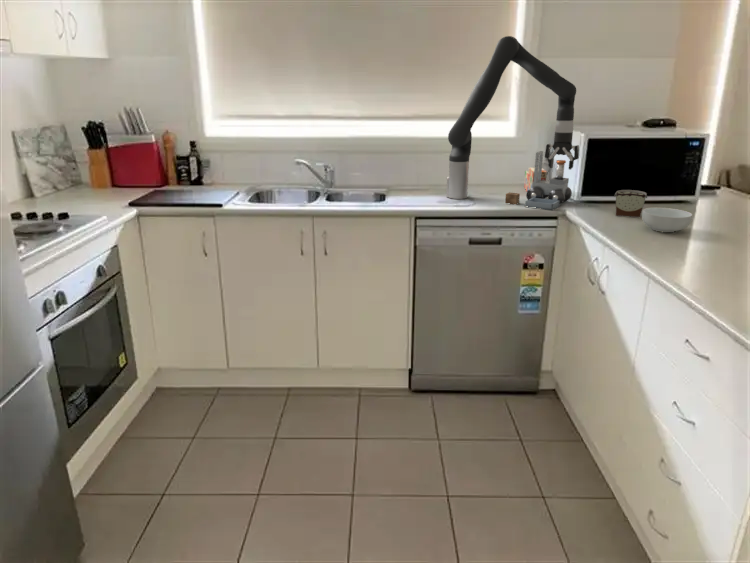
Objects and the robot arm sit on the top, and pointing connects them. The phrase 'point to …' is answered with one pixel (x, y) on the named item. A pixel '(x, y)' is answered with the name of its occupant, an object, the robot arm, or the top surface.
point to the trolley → (548, 185)
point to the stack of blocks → (532, 177)
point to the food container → (629, 202)
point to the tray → (542, 203)
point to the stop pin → (560, 169)
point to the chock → (512, 198)
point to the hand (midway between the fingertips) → (560, 168)
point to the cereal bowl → (666, 219)
